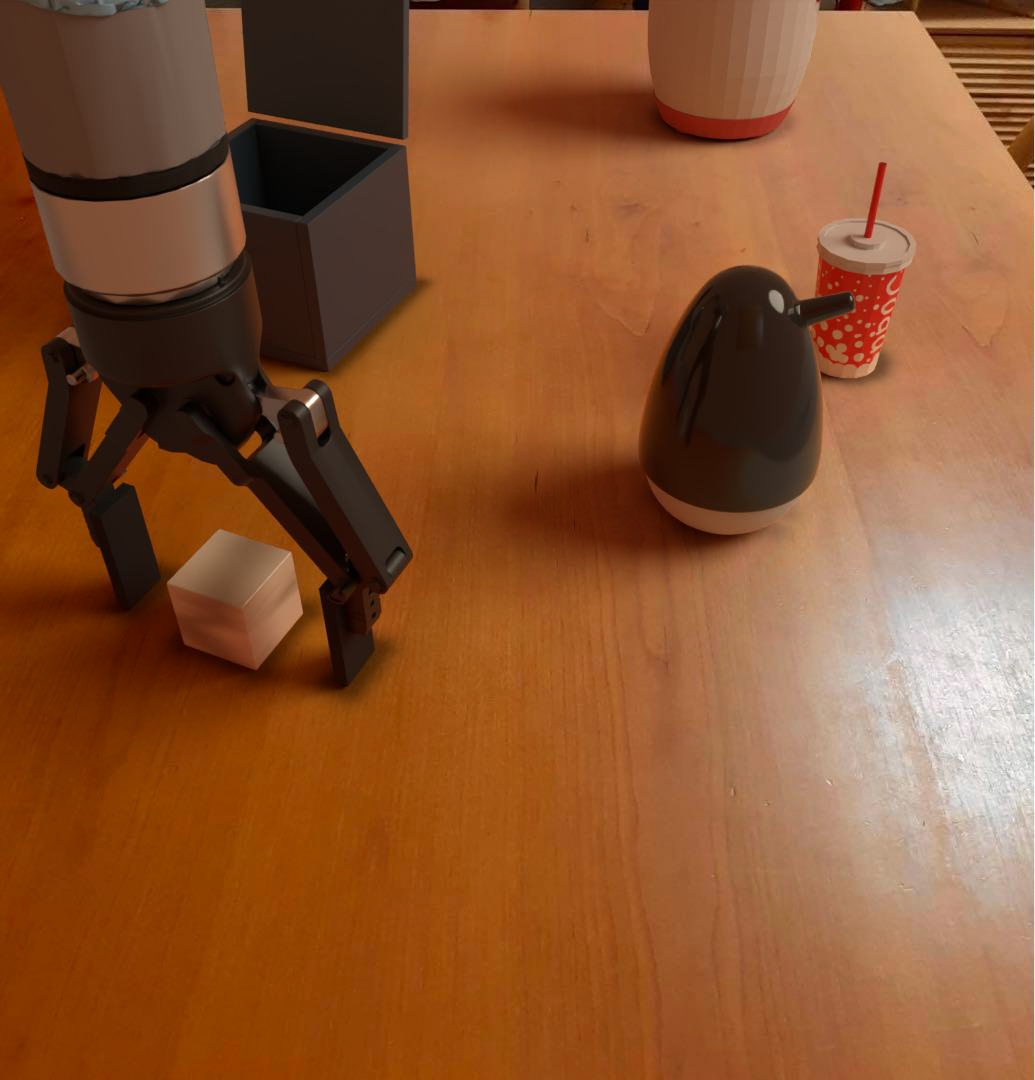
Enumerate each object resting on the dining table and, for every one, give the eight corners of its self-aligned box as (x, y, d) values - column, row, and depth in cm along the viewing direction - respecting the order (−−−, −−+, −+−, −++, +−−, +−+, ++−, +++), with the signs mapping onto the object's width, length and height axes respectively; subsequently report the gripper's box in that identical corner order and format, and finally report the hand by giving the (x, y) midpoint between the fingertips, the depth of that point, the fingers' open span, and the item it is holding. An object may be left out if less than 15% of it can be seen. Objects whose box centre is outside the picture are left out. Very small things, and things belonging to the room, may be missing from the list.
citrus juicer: (826, 158, 104) (869, -89, 91) (632, 147, 106) (646, -96, 93) (820, 92, 115) (858, -136, 102) (645, 83, 118) (659, -141, 104)
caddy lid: (404, -83, 73) (410, -84, 73) (233, -102, 77) (240, -103, 77) (403, 140, 80) (408, 137, 81) (247, 112, 84) (253, 109, 85)
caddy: (328, 372, 79) (307, 224, 72) (175, 332, 83) (140, 188, 76) (417, 285, 88) (406, 145, 81) (274, 253, 92) (251, 117, 85)
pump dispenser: (813, 571, 64) (865, 333, 54) (625, 551, 66) (640, 315, 55) (811, 459, 72) (856, 231, 61) (642, 442, 73) (659, 218, 63)
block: (183, 645, 61) (165, 582, 58) (233, 589, 64) (218, 527, 61) (256, 671, 59) (241, 609, 56) (303, 613, 62) (292, 551, 59)
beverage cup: (840, 395, 77) (883, 195, 67) (778, 352, 81) (810, 157, 71) (907, 367, 79) (957, 169, 70) (843, 326, 83) (882, 135, 74)
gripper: (472, 277, 46) (488, 649, 60) (-13, 172, 54) (102, 523, 68) (377, 376, 41) (419, 756, 55) (-143, 244, 48) (11, 606, 63)
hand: (244, 628), depth 61 cm, fingers open, 13 cm apart
